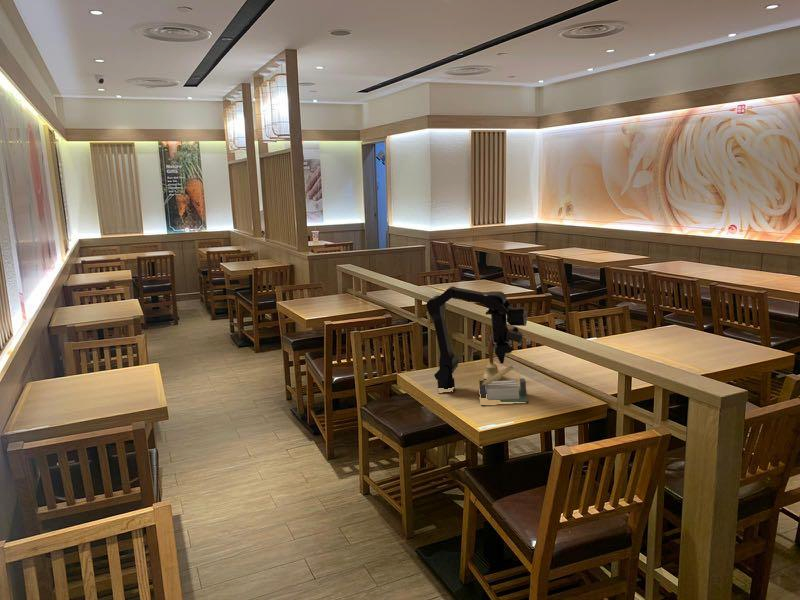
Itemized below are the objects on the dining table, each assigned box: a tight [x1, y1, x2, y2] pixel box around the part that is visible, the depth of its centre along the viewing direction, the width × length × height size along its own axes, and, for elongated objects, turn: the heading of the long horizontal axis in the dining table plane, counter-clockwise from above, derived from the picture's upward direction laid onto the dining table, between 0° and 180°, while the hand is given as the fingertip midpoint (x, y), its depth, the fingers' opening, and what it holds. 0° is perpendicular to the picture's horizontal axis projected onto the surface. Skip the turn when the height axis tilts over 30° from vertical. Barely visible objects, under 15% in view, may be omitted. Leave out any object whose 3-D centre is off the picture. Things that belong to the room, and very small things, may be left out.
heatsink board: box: [478, 377, 529, 403], centre depth 232 cm, size 18×14×6 cm
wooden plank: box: [482, 364, 515, 387], centre depth 231 cm, size 14×3×1 cm
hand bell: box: [482, 341, 503, 381], centre depth 251 cm, size 8×8×16 cm
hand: (501, 363), depth 231 cm, fingers closed
